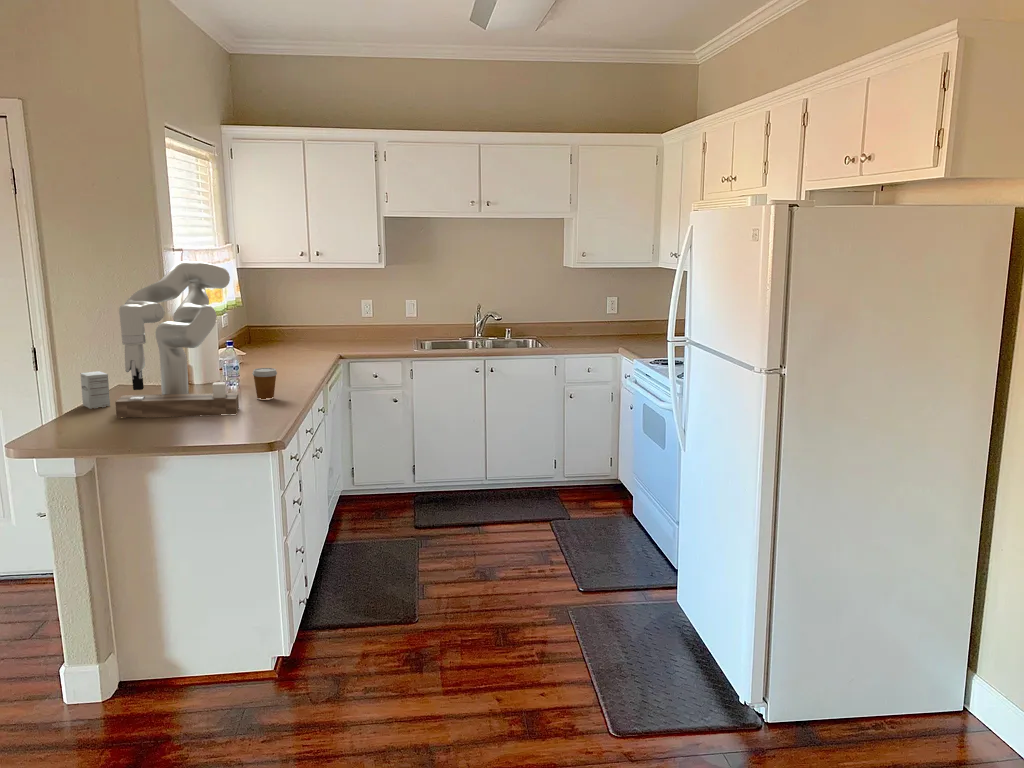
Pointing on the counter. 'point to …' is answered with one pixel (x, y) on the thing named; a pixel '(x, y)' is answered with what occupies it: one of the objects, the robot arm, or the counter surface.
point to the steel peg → (136, 398)
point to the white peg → (219, 389)
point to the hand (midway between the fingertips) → (138, 389)
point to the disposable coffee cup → (265, 382)
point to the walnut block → (176, 405)
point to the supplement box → (95, 389)
